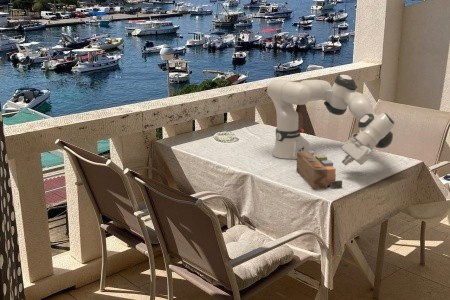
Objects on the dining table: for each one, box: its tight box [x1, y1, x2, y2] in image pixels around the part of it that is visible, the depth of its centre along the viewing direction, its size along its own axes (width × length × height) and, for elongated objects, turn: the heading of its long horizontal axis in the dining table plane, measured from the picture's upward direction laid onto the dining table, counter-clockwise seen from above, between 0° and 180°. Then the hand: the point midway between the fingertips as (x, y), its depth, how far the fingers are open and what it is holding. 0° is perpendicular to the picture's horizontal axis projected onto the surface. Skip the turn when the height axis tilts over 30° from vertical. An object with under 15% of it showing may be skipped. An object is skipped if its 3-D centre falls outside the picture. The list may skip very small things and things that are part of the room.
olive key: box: [314, 154, 328, 163], centre depth 275 cm, size 4×4×8 cm
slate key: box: [321, 159, 334, 167], centre depth 267 cm, size 4×4×8 cm
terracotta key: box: [326, 165, 336, 187], centre depth 259 cm, size 4×4×8 cm
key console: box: [295, 152, 343, 190], centre depth 266 cm, size 13×26×9 cm, turn 10°
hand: (343, 163), depth 267 cm, fingers closed
